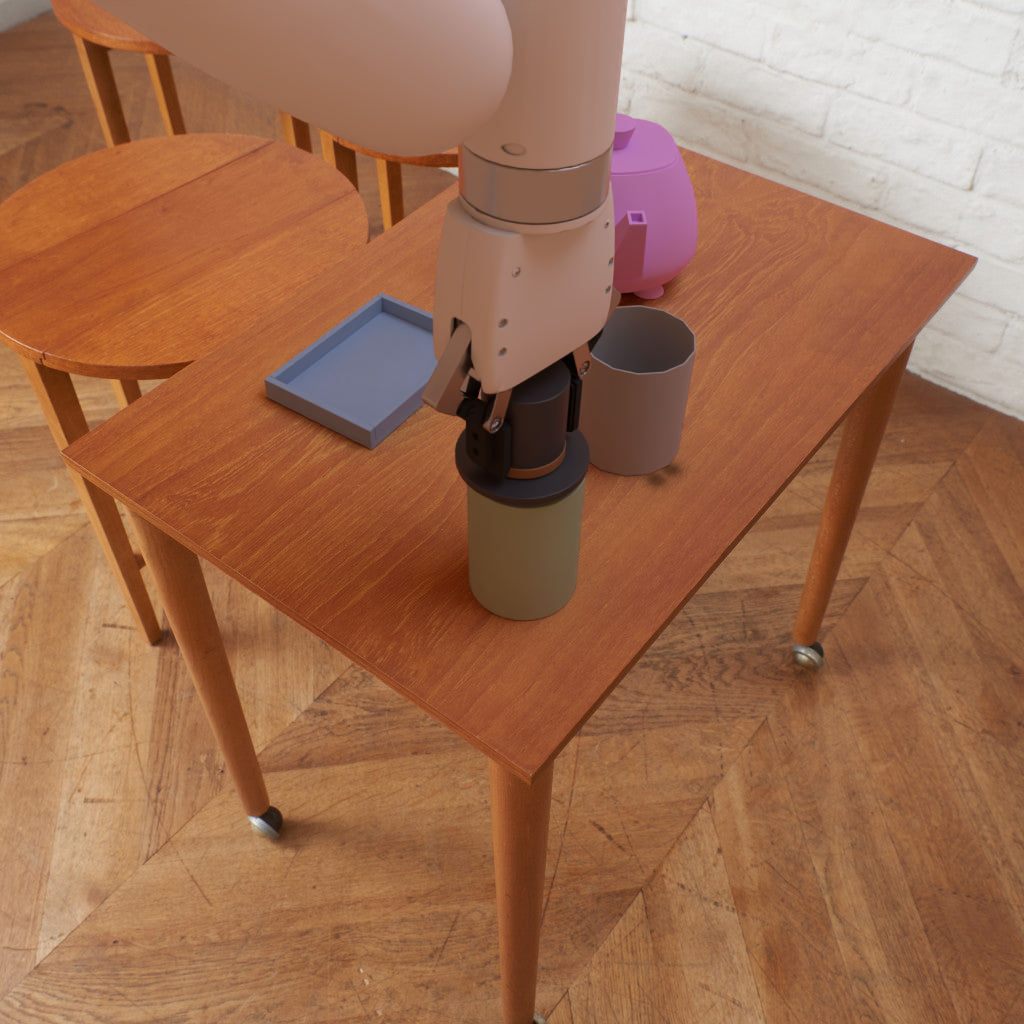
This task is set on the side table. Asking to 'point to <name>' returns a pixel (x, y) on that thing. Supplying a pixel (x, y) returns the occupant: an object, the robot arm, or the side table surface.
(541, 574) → the pedestal
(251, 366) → the side table surface
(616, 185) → the teapot
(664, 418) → the cup
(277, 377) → the tray
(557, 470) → the hat
